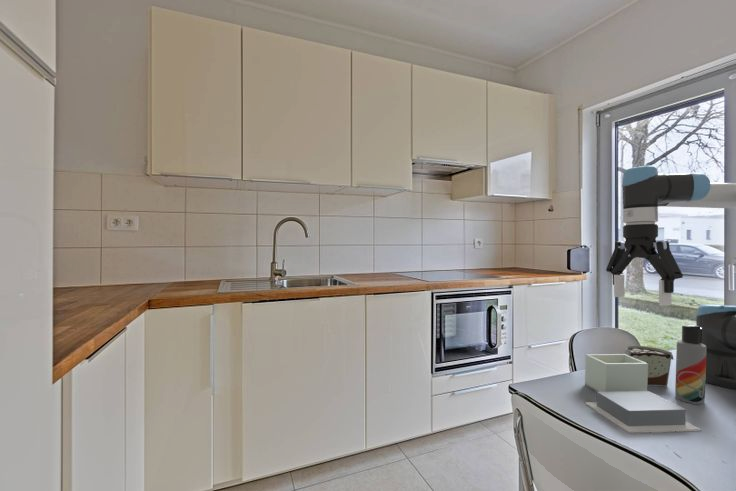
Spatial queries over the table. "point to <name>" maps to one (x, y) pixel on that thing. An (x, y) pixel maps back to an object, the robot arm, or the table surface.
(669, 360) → the food container
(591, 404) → the mat
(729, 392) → the table surface
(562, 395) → the table surface
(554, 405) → the table surface
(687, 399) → the lotion bottle
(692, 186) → the robot arm
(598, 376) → the storage box
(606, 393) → the lid
